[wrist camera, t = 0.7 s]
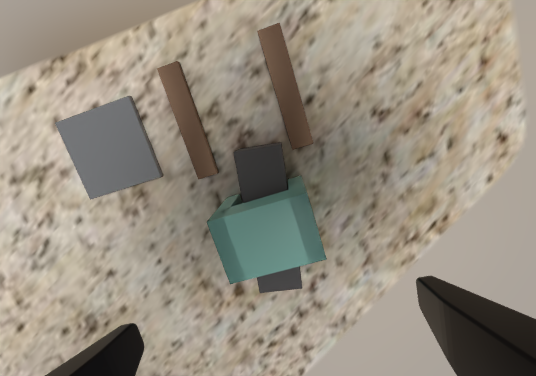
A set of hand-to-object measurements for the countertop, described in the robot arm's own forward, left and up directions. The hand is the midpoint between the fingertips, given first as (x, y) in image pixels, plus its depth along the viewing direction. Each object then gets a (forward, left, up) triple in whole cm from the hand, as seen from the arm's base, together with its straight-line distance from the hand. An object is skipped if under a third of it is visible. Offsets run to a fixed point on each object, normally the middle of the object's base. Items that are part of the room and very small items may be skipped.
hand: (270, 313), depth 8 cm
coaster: (-11, +8, -12) cm, 18 cm away
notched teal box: (-1, 0, -12) cm, 12 cm away
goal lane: (-1, +8, -12) cm, 14 cm away
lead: (-1, 0, -13) cm, 13 cm away
